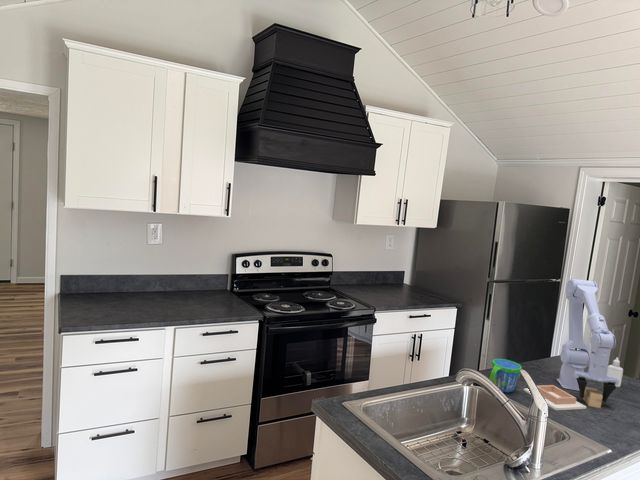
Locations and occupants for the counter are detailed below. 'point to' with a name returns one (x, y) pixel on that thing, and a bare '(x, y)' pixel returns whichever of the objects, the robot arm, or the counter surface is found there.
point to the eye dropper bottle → (615, 371)
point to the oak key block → (593, 397)
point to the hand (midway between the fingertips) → (592, 399)
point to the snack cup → (505, 374)
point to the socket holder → (558, 398)
